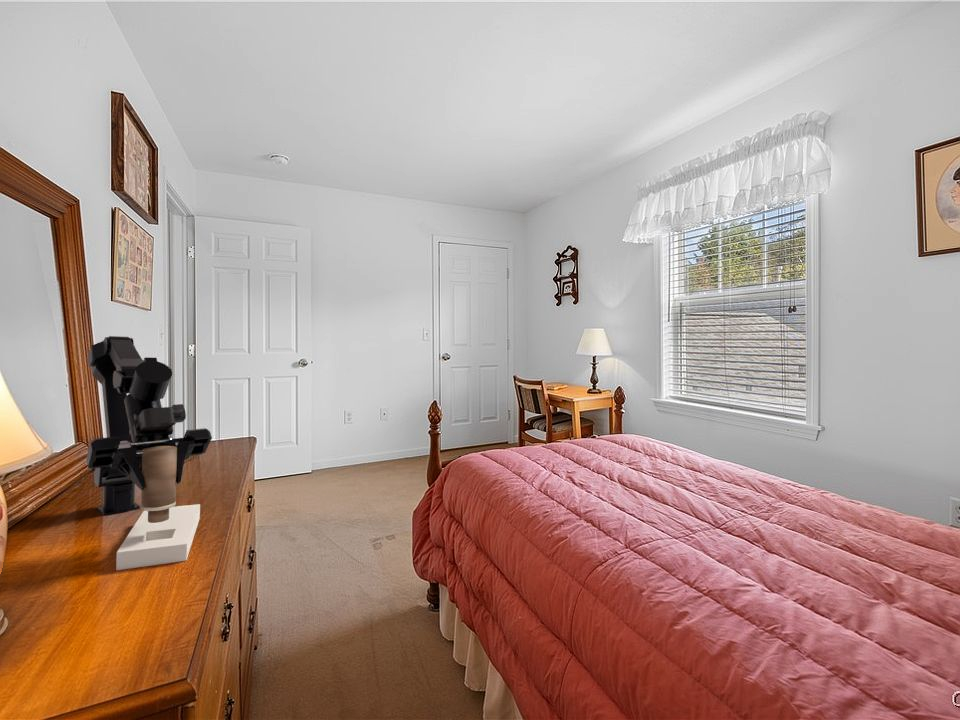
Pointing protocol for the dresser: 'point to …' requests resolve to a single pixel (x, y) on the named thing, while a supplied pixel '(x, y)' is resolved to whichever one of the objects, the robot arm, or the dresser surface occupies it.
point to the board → (159, 539)
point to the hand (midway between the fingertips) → (161, 485)
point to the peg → (159, 481)
